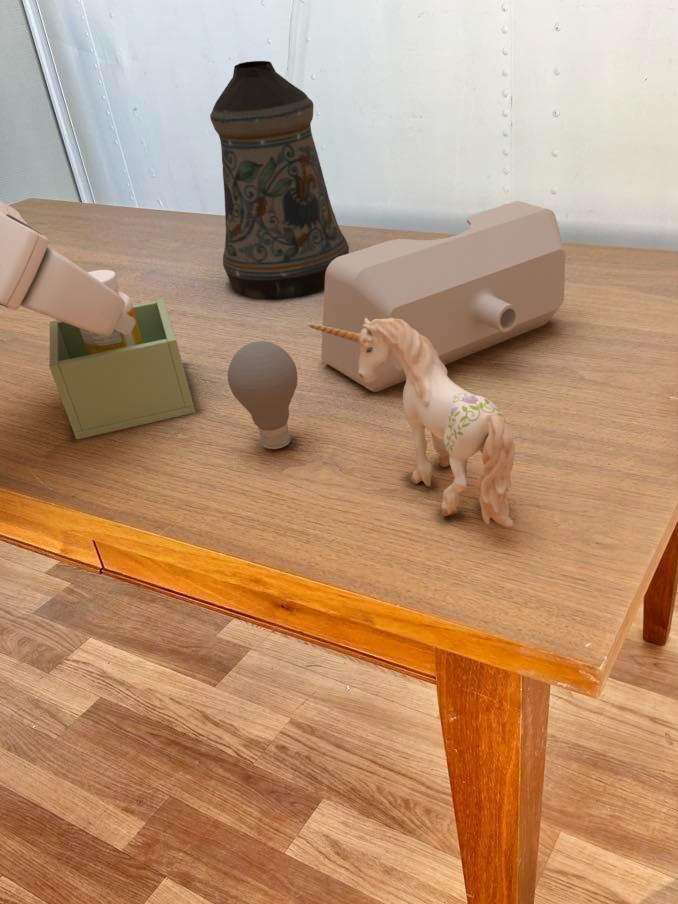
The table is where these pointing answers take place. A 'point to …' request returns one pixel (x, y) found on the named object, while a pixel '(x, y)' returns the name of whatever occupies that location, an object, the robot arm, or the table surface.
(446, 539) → the table surface
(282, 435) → the light bulb
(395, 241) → the tank
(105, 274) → the supplement bottle
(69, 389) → the bin
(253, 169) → the brown decorated vase
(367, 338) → the unicorn figurine
